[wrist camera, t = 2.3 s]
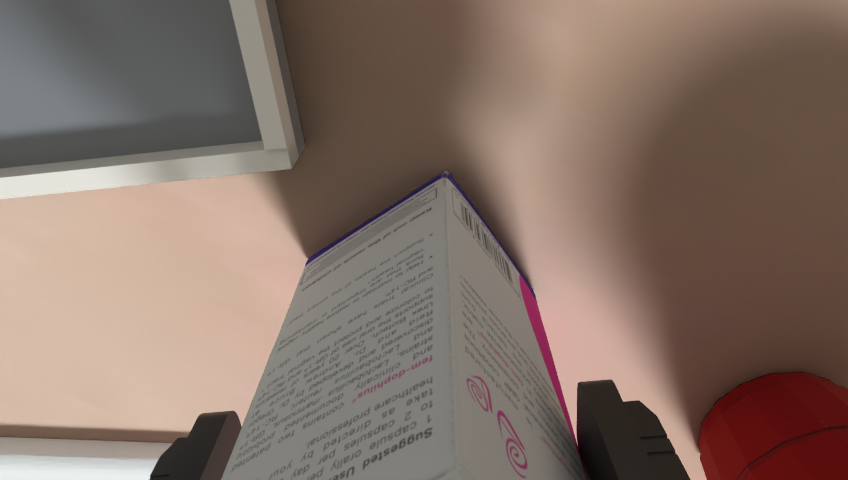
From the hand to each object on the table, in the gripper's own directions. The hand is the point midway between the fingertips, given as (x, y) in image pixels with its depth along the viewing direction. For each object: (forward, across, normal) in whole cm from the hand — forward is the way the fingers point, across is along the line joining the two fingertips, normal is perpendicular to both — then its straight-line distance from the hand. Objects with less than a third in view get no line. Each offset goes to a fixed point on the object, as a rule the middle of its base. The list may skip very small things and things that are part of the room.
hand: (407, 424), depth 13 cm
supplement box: (+7, 0, 0) cm, 7 cm away
